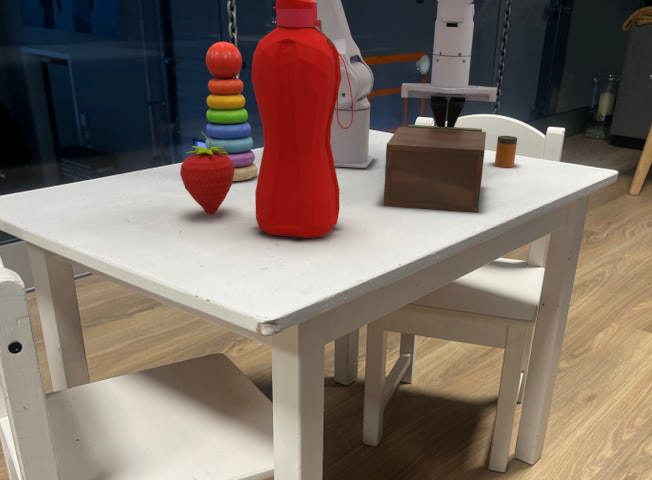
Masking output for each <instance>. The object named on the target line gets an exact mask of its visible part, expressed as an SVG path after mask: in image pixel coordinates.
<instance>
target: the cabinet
mask: <svg viewBox="0 0 652 480" xmlns="http://www.w3.org/2000/svg"><path fill="white" fill-rule="evenodd" d="M486 137H487V131H482V132H478V131H461V130H444V129H426V128H409V127H408V126H407V127H406V126H398V128H397V130H395V132H394V133H393V135H391V138H390V139H388V141H387V143H386V149H385V166H384V167H385V170H384V189H383V190H384V191H383V206H385V207H397V208H398V207H401V208H412V209H426V210H427V209H428V210H438V211H439V210H440V211H454V212H464V213H465V212H466V213H479V208H480V207H479V206H480V197H481V190H482V189H481V187H482V180H483V179H482V178H483V168H484V161H485V151H486V139H487V138H486Z"/></svg>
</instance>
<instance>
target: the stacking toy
mask: <svg viewBox="0 0 652 480" xmlns="http://www.w3.org/2000/svg"><path fill="white" fill-rule="evenodd" d="M205 63H206V64H205V65H206V67H207V70H208V72H209V73H210V74H211V75H212V76H213V78H211V79H210V80H209V81H208V83H207V89H208V91H209V92H210V93H211V94H209V95H208V96H207V97H206V105H207V106H208V107H209V108H208V109H207V111H206V115H205V116H206V119H207V121H208V122H207V124H206V127H205V132H206V134H207V135H208V136H207V138H208V139H209V140H210V142H211V143H210V142H209V140H208V139H207V138H206V139H205V148H209V143H210V148H211V147H224V148H223V149H219V150H223V151H225V152H227V153H229V154H223V155H226V156H228V157H229V158H230V159H231V161H232V162H233V166H234V170H235V171H234V176H233V181H232V182H241V181H248V180H250V179H253V178H254V177H255V176H256V175H257V174H258V167H257V165H256V163H254V162H255V159H256V155H255V153H254V151H253V150H252V148H253V146H254V140H253V138H252V137H251V136H250V134H251V133H252V127H251V124H250V123H248V122H247V120H248V118H249V113H248V111H247V109H245V108H244V106H245V105H246V98H245V96H244V95H243V94H241V93H242V92H243V91H244V83H243V81H242V80H241V79H239V78H237V76H238V75H239V74H240V72H241V69H242V67H243V58H242V54H241V52H240V50H239V49H238V47H236V45H234V44H233V43H230V42H228V41H219V42H216V43H213V44H212V45H210V47H209V48H208V49H207V52H206V55H205ZM210 148H209V149H210Z"/></svg>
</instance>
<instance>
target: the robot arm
mask: <svg viewBox="0 0 652 480" xmlns="http://www.w3.org/2000/svg"><path fill="white" fill-rule="evenodd" d="M312 1H315V2H317V21H318V20H319V19H320V20H322V26H321V27H322V32H323V33H324V34H325V35H326V36H327V37H328V38H330V39H331V40H332V42H333V43H334V45H335V47H336V48H337V51H338V52H339V54H340V55H341V56H342V58H343V59H344V62H345V65H346V68H347V72H348V76H349V81H350V86H351V91H352V99H353V121H352V124H351V125H350V123H351V120H352V101H351V93H350V87H349V82H348V78H347V73H346V70H345V66H344V63H343V61H342V59H341V57H340V56H339V59H340V69H341V82H340V86H339V91H338V119H339V122H340V124H341V126H342V127H344V128H347V127H349V125H350V127H349V128H347V129H343V128H341V127H340V125H339V123H338V120H337V101H336V106H335V110H334V115H333V120H332V125H331V140H330V143H331V149H332V154H333V159H334V164H335V167H343V168H357V169H367V168H368V167H369V165H370V164H371V163H372V161H373V160H374V155H369V151H370V150H369V147H370V119H371V118H370V117H371V103H370V102H369V100H368V96H369V95H370V94H371V91H372V90H373V87H374V81H375V80H374V79H375V78H374V74H373V71H372V69H371V68H370V66H369V65H368V64H367V63H366V62H365V60H364V59H363V57H362V54H361V51H360V48H359V47H358V45H357V44H356V42H355V40H354V39H353V37H352V34H351V30H350V26H349V24H348V20H347V17H346V13H345V10H344V7H343V4H342V1H341V0H312ZM436 1H437V10H436V20H435V22H434V36H433V49H432V63H431V64H432V65H431V77H430V83H421V82H420V83H419V82H418V83H412V82H411V83H409V82H403V83H402V84H401V91H400V93H401V95H400V98H403V99H405V98H407V99H408V98H417V99H418V98H419V99H430V102H429V106H430V110H431V111H432V114H433V117H434V121H435V124H436V125H435V126H443V127H456V124H457V122H458V119H459V117H460V115H461V113H462V111H463V110H464V108H465V105H466V102H467V101H477V102H478V101H479V102H488V103H489V102H490V103H496V101H497V93H498V87H494V86H493V87H492V86H480V85H470V84H469V79H470V68H471V59H472V58H471V57H472V49H473V48H472V47H473V39H474V38H473V37H474V26H475V22H474V16H475V4H474V3H473V2H474V1H475V0H436ZM316 28H317V29H318V27H316ZM318 30H319V31H320V29H318Z"/></svg>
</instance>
